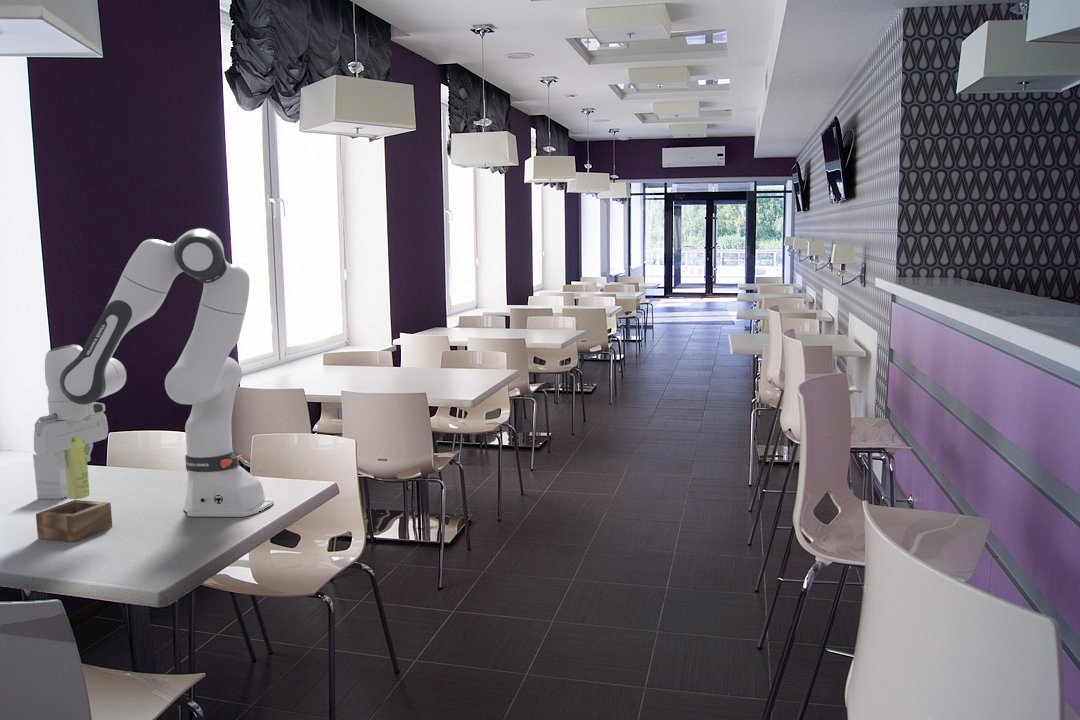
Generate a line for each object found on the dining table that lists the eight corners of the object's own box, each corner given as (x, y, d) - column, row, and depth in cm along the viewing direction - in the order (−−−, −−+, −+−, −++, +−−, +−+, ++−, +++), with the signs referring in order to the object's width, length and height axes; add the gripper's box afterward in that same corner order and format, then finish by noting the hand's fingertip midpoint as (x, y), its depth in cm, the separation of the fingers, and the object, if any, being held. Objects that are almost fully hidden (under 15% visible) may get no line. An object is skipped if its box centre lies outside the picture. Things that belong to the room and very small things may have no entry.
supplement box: (78, 492, 243) (74, 447, 241) (61, 499, 235) (57, 454, 234) (53, 491, 244) (50, 447, 242) (36, 499, 236) (32, 453, 235)
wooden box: (112, 526, 210) (110, 502, 210) (75, 541, 199) (72, 516, 199) (76, 523, 213) (74, 499, 213) (37, 538, 202) (35, 513, 201)
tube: (90, 498, 216) (84, 420, 214) (67, 501, 213) (61, 423, 212) (89, 493, 221) (83, 417, 219) (66, 496, 218) (61, 420, 217)
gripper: (45, 418, 204) (51, 475, 206) (109, 403, 224) (115, 455, 225) (23, 418, 206) (30, 474, 208) (89, 403, 225) (95, 455, 227)
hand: (74, 464), depth 217 cm, fingers closed on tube, 6 cm apart
